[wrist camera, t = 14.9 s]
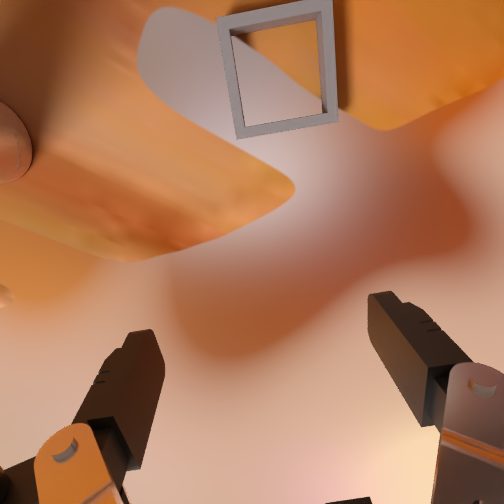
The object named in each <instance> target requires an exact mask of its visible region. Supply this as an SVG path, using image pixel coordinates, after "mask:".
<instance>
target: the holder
mask: <svg viewBox="0 0 504 504" xmlns="http://www.w3.org/2000/svg"><path fill="white" fill-rule="evenodd" d="M311 20H316V23H317V37H318V52H319V67H320V82H321V97H322V110H323V114H317V115H312V116H306V117H300V118H295V119H289V120H284V121H278V122H272V123H266V124H261V125H255V126H250V127H245V122H244V116H243V110H242V104H241V97H240V91H239V85H238V79H237V73H236V66H235V59H234V54H233V47H232V41H231V36H234V35H239V34H244V33H250V32H255V31H260V30H265V29H270V28H275V27H280V26H285V25H290V24H295V23H300V22H305V21H311ZM216 21H217V27H218V33H219V38H220V45H221V50H222V56H223V62H224V68H225V73H226V80H227V86H228V91H229V97H230V102H231V109H232V115H233V121H234V126H235V132H236V138H237V139H242V138H248V137H254V136H259V135H265V134H271V133H277V132H283V131H288V130H294V129H300V128H305V127H311V126H317V125H322V124H329V123H334V122H338V101H337V81H336V61H335V40H334V20H333V0H302V1H297V2H292V3H287V4H282V5H277V6H272V7H267V8H262V9H257V10H252V11H247V12H242V13H237V14H232V15H227V16H222V17H217V18H216Z"/></svg>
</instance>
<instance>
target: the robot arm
mask: <svg viewBox="0 0 504 504" xmlns="http://www.w3.org/2000/svg"><path fill="white" fill-rule="evenodd" d="M31 160H32V145H31V140H30V137H29V134H28V132H27V130H26V128H25V126H24V124H23V123H22V121H21V120H20V119H19V117H18V116H17V115H16V114H15V113H14V112H13V111H12V110H11V109H10V108H9V107H7V106H6V105H5V104H3V103H2V102H0V184H3V183H7V182H11V181H15V180H17V179H19V178H20V177H22V176H23V175H24V174H25V173H26V172H27V170H28V168H29V166H30V164H31ZM368 333H369V337H370V341H371V343H372V345H373V347H374V348H375V350H376V352H377V354H378V355H379V357H380V359H381V360H382V362H383V363H384V365H385V367H386V369H387V370H388V372H389V374H390V375H391V377H392V379H393V381H394V382H395V384H396V386H397V387H398V389H399V391H400V392H401V394H402V396H403V397H404V399H405V401H406V402H407V404H408V406H409V407H410V409H411V411H412V412H413V414H414V416H415V417H416V419H417V421H418V422H419V424H420V426H421V427H426V426H432V425H435V426H436V428H437V429H438V431H439V432H440V440H439V447H438V455H437V462H436V470H435V477H434V484H433V491H432V499H431V504H504V374H503V373H501V372H500V371H498V370H496V369H494V368H492V367H489V366H487V365H483V364H480V363H474V362H473V361H472V360H471V359H470V358H469V357H468V356H467V355H466V354H465V353H464V352H463V351H462V350H461V348H459V346H458V345H457V344H456V343H455V342H454V341H453V340H452V339H450V337H449V336H448V335H447V334H446V333H445V332H444V331H443V330H441V328H440V327H439V326H438V325H437V324H436V322H433V319H432V318H431V317H429V315H428V314H427V313H426V312H425V311H424V310H423V309H421V308H419V307H417V306H415V305H414V304H412V303H410V302H407V303H402V302H401V301H400V300H399V299H398V297H397V296H396V295H395V294H394V293H393V292H392V291H386V292H380V293H374V294H369V296H368ZM164 378H165V363H164V359H163V356H162V354H161V351H160V348H159V345H158V343H157V340H156V337H155V335H154V332H153V331H152V330H151V329H147V330H141V331H135V332H130V333H129V334H128V335H127V337H126V339H125V342H124V343H123V346H122V348H117V349H115V350H114V351H113V352H112V353H111V354H110V356H108V358H107V359H106V360H105V361H104V363H103V365H102V367H101V369H100V370H99V375H97V376H96V378H95V380H94V382H93V385H92V386H91V388H90V390H89V392H88V393H87V395H86V397H85V399H84V401H83V403H82V405H81V407H80V409H79V410H78V412H77V414H76V416H75V418H74V420H73V422H72V424H71V425H69V426H67V427H65V428H63V429H61V430H59V431H58V432H56V433H55V434H54V435H53V436H51V437H50V438H49V439H48V440H47V441H46V442H45V443H44V445H43V446H42V447H41V449H40V450H39V452H38V453H37V455H36V456H35V457H33V458H31V459H28V460H26V461H24V462H22V463H20V464H17V465H15V466H12V467H10V468H8V469H6V470H3V469H2V468H1V466H0V504H131V502H130V499H129V497H128V495H127V492H126V490H125V487H124V486H123V480H124V477H125V474H126V471H131V470H138V469H140V468H141V465H142V461H143V457H144V453H145V449H146V445H147V442H148V438H149V434H150V431H151V426H152V423H153V419H154V415H155V411H156V408H157V404H158V400H159V397H160V393H161V389H162V385H163V381H164ZM326 504H372V502H371V499H370V497H364V498H357V499H351V500H344V501H337V502H330V503H326Z"/></svg>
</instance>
